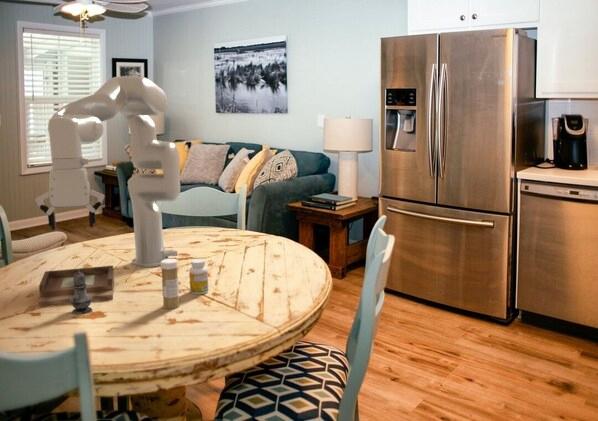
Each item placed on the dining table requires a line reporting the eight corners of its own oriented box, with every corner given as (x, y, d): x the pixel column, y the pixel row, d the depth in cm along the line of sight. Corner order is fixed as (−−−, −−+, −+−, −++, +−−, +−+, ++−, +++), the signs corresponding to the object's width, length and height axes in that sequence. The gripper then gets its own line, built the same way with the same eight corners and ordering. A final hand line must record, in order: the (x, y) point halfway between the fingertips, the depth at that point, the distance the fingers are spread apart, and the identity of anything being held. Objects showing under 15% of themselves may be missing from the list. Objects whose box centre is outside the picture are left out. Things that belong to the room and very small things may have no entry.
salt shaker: (86, 315, 161) (82, 273, 158) (66, 314, 162) (62, 272, 159) (97, 307, 166) (93, 266, 164) (78, 306, 167) (74, 265, 165)
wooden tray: (114, 280, 190) (112, 265, 189) (112, 299, 173) (111, 283, 172) (46, 286, 184) (45, 271, 183) (38, 306, 167) (37, 290, 166)
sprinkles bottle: (163, 304, 169) (160, 258, 166) (179, 303, 169) (177, 257, 167) (162, 310, 164) (160, 263, 161) (179, 308, 165) (177, 262, 162)
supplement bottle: (191, 289, 181) (189, 258, 179) (209, 288, 181) (207, 257, 179) (189, 295, 176) (188, 263, 174) (207, 294, 176) (206, 263, 174)
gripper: (102, 161, 162) (107, 222, 165) (34, 164, 158) (40, 226, 161) (101, 164, 155) (106, 228, 158) (29, 167, 150) (36, 232, 154)
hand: (73, 227), depth 160 cm, fingers open, 9 cm apart
